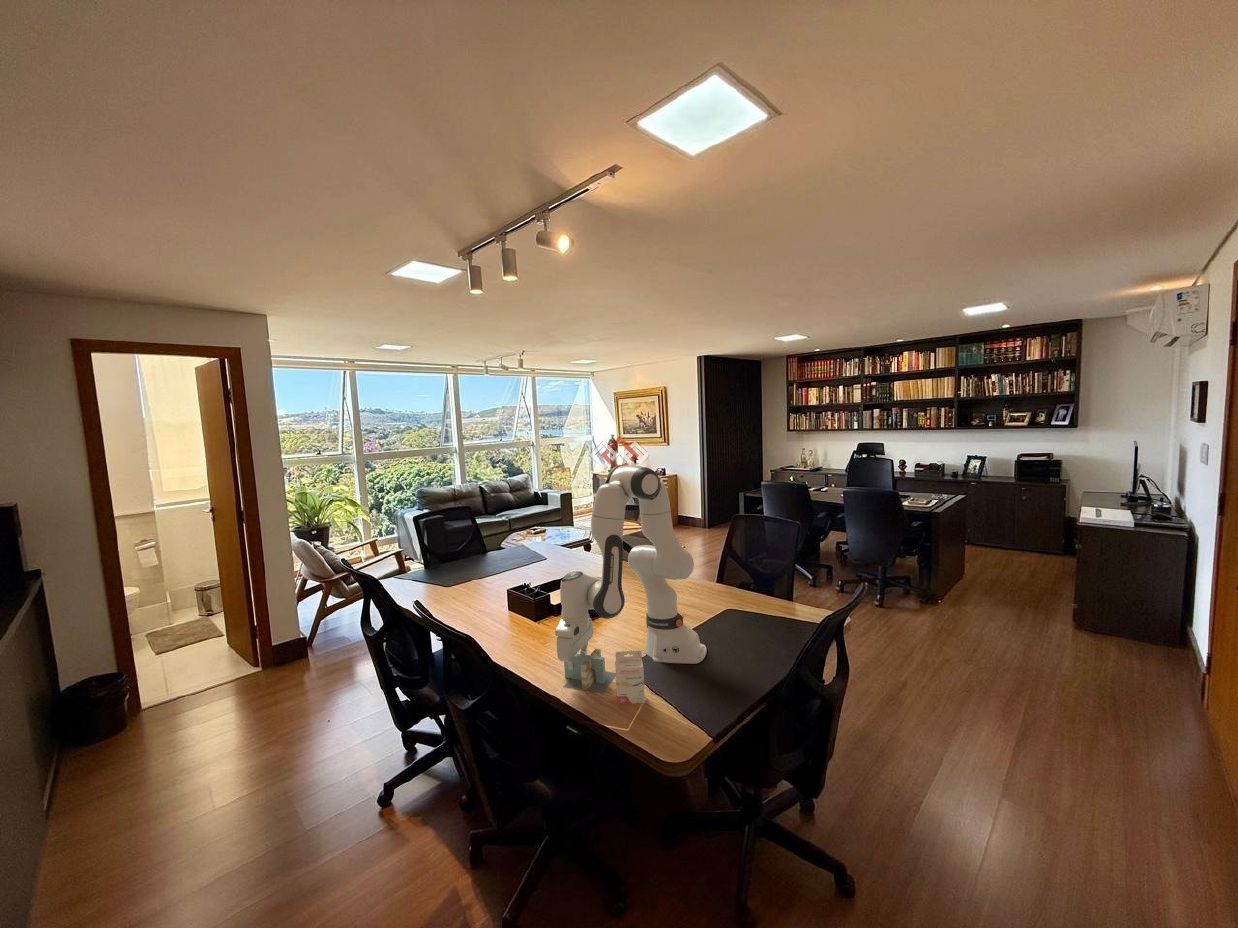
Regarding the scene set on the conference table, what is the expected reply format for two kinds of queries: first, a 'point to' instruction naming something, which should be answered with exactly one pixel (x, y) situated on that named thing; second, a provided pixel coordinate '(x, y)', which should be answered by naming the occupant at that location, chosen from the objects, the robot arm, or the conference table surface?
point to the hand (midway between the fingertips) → (577, 661)
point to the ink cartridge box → (629, 678)
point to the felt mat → (595, 685)
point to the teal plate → (596, 663)
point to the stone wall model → (588, 671)
